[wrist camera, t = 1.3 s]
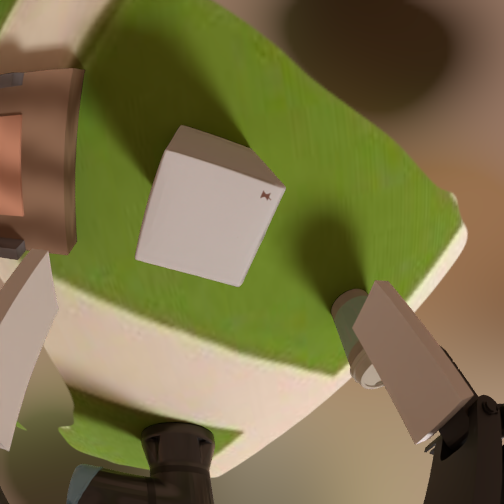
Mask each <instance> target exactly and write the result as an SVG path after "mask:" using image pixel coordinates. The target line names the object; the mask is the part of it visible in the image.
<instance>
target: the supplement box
mask: <svg viewBox="0 0 504 504" xmlns="http://www.w3.org/2000/svg"><path fill="white" fill-rule="evenodd" d="M285 190H286V187H285V186H284V184H283V183H282V182H281V181H280V180H279V179H278V178H277V177H276V176H275V174H274V173H273V172H272V171H271V170H270V169H269V168H268V167H267V165H266V164H265V163H264V162H263V161H262V160H261V159H260V158H259V157H258V155H257V154H256V153H255V152H254V151H253V150H252V149H251V148H248V147H245V146H243V145H240V144H237V143H234V142H232V141H229V140H226V139H224V138H221V137H218V136H215V135H212V134H209V133H206V132H203V131H200V130H197V129H194V128H191V127H188V126H184V125H181V126H180V127H179V128H178V130H177V131H176V133H175V135H174V136H173V138H172V140H171V141H170V143H169V145H168V146H167V148H166V149H165V151H164V153H163V156H162V159H161V161H160V164H159V167H158V170H157V173H156V176H155V179H154V182H153V185H152V188H151V192H150V195H149V199H148V202H147V206H146V210H145V214H144V218H143V222H142V226H141V230H140V235H139V239H138V244H137V249H136V254H135V259H136V260H139V261H143V262H147V263H150V264H154V265H158V266H162V267H165V268H169V269H173V270H177V271H181V272H185V273H188V274H193V275H196V276H200V277H203V278H207V279H211V280H214V281H218V282H222V283H226V284H229V285H233V286H236V287H239V286H240V285H241V284H242V283H243V280H244V278H245V276H246V274H247V272H248V269H249V267H250V265H251V263H252V261H253V259H254V256H255V254H256V252H257V250H258V248H259V246H260V244H261V242H262V240H263V238H264V236H265V233H266V230H267V228H268V226H269V224H270V222H271V219H272V217H273V215H274V213H275V211H276V209H277V206H278V204H279V202H280V200H281V198H282V196H283V194H284V192H285Z"/></svg>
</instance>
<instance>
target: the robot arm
mask: <svg viewBox="0 0 504 504" xmlns="http://www.w3.org/2000/svg"><path fill="white" fill-rule="evenodd" d="M58 310H59V307H58V303H57V298H56V293H55V288H54V283H53V277H52V271H51V265H50V259H49V252H48V250H39V249H31V250H30V252H29V253H28V254H27V255H26V257H25V258H24V259H23V260H22V262H21V263H20V264H19V266H18V267H17V268H16V270H15V271H14V272H13V274H12V275H11V276H10V278H9V279H8V280H7V282H6V283H5V285H4V286H3V288H2V289H1V290H0V448H2V449H5V450H7V451H9V450H10V445H11V441H12V437H13V433H14V429H15V425H16V422H17V418H18V415H19V411H20V408H21V405H22V401H23V398H24V395H25V392H26V389H27V386H28V383H29V380H30V377H31V375H32V372H33V369H34V366H35V364H36V361H37V359H38V356H39V353H40V351H41V348H42V346H43V344H44V341H45V339H46V336H47V334H48V332H49V329H50V327H51V325H52V323H53V320H54V318H55V316H56V314H57V312H58ZM352 329H353V331H354V332H355V334H356V336H357V337H358V339H359V341H360V343H361V344H362V346H363V348H364V350H365V352H366V353H367V355H368V357H369V359H370V360H371V362H372V364H373V366H374V368H375V369H376V371H377V373H378V375H379V377H380V379H381V380H382V382H383V384H384V386H385V388H386V390H387V391H388V393H389V395H390V397H391V399H392V401H393V403H394V405H395V406H396V408H397V410H398V412H399V414H400V416H401V418H402V420H403V422H404V424H405V426H406V428H407V430H408V432H409V434H410V436H411V437H412V440H413V441H414V444H418V443H421V442H423V441H426V440H428V439H429V438H431V437H432V436H433V435H434V434H435V433H436V432H437V431H438V430H439V432H440V434H441V435H440V436H439V437H437V438H436V439H435V440H434V441H433V442H431V443H430V444H429V445H428V446H427V447H426V448H425V451H424V452H427V451H428V450H430V449H431V448H432V447H433V446H435V448H434V449H432V450H431V452H430V454H433V455H434V456H433V462H432V468H431V473H430V478H429V483H428V487H427V492H426V496H425V500H424V504H504V445H503V446H502V439H503V438H504V404H497V403H496V402H495V401H494V400H493V399H492V398H491V397H489V396H486V395H481V396H480V397H478V395H477V394H476V393H475V391H474V390H473V388H472V387H471V385H470V384H469V382H468V381H467V380H466V378H465V377H464V375H463V374H462V372H461V371H460V370H459V369H458V367H457V365H456V364H455V363H454V362H453V360H452V358H451V357H450V356H449V354H448V353H447V352H446V350H444V349H443V348H442V347H441V346H440V345H439V344H438V343H437V342H436V340H435V339H434V338H433V336H432V335H431V334H430V332H429V331H428V330H427V329H426V327H425V326H424V325H423V323H422V322H421V321H420V320H419V318H418V317H417V316H416V315H415V313H414V312H413V311H412V309H411V308H410V307H409V306H408V305H407V303H406V302H405V301H404V300H403V298H402V297H401V296H400V295H399V294H398V292H397V291H396V290H395V289H394V288H393V286H392V285H391V284H390V283H389V282H388V281H376V280H375V282H374V284H373V286H372V289H371V291H370V293H369V295H368V297H367V299H366V301H365V303H364V305H363V307H362V309H361V311H360V313H359V315H358V317H357V319H356V321H355V323H354V325H353V327H352ZM141 443H142V447H143V450H144V453H145V456H146V459H147V461H148V464H149V467H150V477H144V476H139V475H133V474H127V473H123V472H118V471H114V470H110V469H105V468H103V467H95V466H91V465H87V464H81V465H79V466H77V467H76V469H75V471H74V473H73V476H72V479H71V482H70V486H69V490H68V495H67V503H66V504H214V501H213V494H212V487H211V480H210V473H209V468H210V465H211V461H212V457H213V453H214V449H215V441H214V436H213V434H212V433H211V432H210V431H209V430H207V429H205V428H203V427H200V426H196V425H192V424H185V423H162V424H156V425H152V426H150V427H148V428H146V429H145V430H143V432H142V440H141ZM0 504H9V503H8V501H7V499H6V497H5V495H4V493H3V491H2V489H1V487H0Z"/></svg>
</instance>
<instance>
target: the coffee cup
mask: <svg viewBox="0 0 504 504" xmlns="http://www.w3.org/2000/svg"><path fill="white" fill-rule="evenodd" d="M367 297H368V294H367V293H366V292H365V291H364V290H362V289H352V290H349V291H347V292H345V293H343V294H342V295H340V296H339V297H338V298H337V299H336V301H335V302H334V304H333V306H332V309H331V314H332V317H333V320H334V322H335V325H336V328H337V331H338V333H339V336H340V339H341V342H342V345H343V347H344V350H345V353H346V356H347V359H348V362H349V364H350V367H351V368H350V374H351V376H352V377H353V378H354V380H355V381H356V382H358V383H360V385H361V386H363V387H364V388H366V389H376V388H380V387H383V386H384V384H383V382H382V380H381V379H380V377H379V375H378V373H377V371H376V369H375V368H374V366H373V364H372V362H371V360H370V359H369V357H368V355H367V353H366V352H365V350H364V348H363V346H362V344H361V343H360V341H359V339H358V337H357V336H356V334H355V332H354V331H353V329H352V327H353V325H354V323H355V321H356V319H357V317H358V315H359V313H360V311H361V309H362V307H363V305H364V303H365V301H366V299H367Z"/></svg>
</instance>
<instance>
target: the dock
mask: <svg viewBox="0 0 504 504" xmlns="http://www.w3.org/2000/svg"><path fill="white" fill-rule="evenodd" d="M84 72H85V70H82V69H76V68H66V69H53V70H42V71H34V72H26V73H8V74H2V75H0V257H2V258H8V259H15V260H18V259H19V258H20V257H21V255H22V254H23V253H24V252H25V251H26V250H29V251H30V250H31V249H39V250H48V252H49V253H53V254H62V255H68V254H69V253H70V251H71V250H72V248H73V247H74V245H75V244H76V242H77V234H76V214H75V161H76V141H77V128H78V117H79V108H80V99H81V92H82V85H83V78H84Z"/></svg>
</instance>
